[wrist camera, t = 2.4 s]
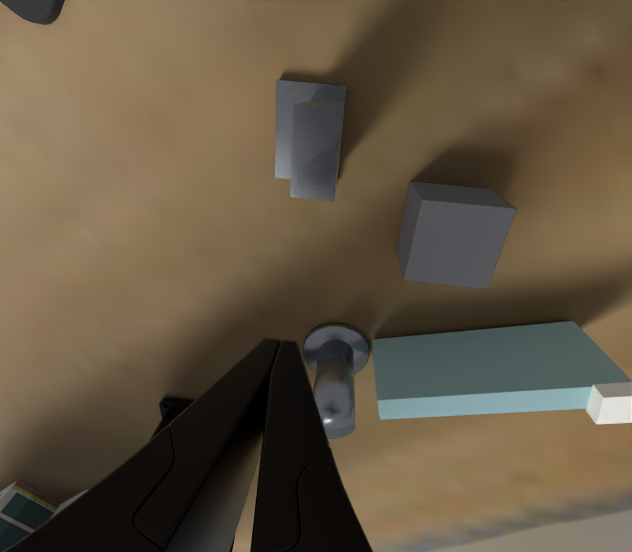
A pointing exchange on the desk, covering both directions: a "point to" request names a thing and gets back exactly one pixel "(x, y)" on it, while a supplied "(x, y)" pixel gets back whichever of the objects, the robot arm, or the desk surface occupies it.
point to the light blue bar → (499, 374)
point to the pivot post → (336, 373)
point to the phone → (36, 9)
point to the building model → (25, 512)
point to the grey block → (309, 137)
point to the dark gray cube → (452, 234)
